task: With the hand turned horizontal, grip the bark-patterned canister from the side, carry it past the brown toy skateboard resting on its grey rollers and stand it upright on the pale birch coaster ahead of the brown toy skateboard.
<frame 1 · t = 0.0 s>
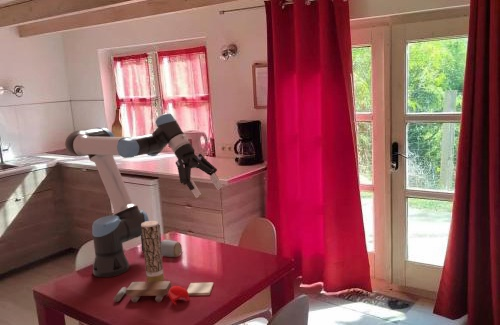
hand: (209, 192, 184), 36 cm above the table, tool tilted 35°, fingers open, 13 cm apart
coaster: (199, 290, 180), on the table
ceramic mug: (172, 255, 220), on the table
brown toy skateboard: (149, 297, 177), on the table
red rounded piece: (179, 302, 172), on the table
small box: (152, 248, 232), on the table
bark-patterned canister: (155, 283, 190), on the table
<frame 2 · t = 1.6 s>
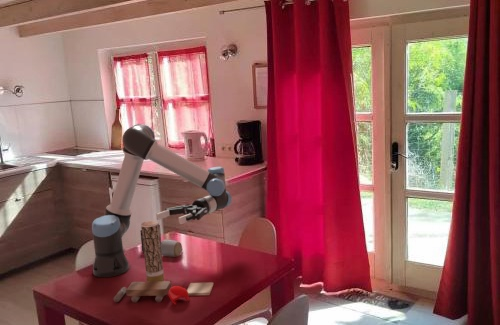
hand: (167, 218, 193), 24 cm above the table, tool horizontal, fingers open, 13 cm apart
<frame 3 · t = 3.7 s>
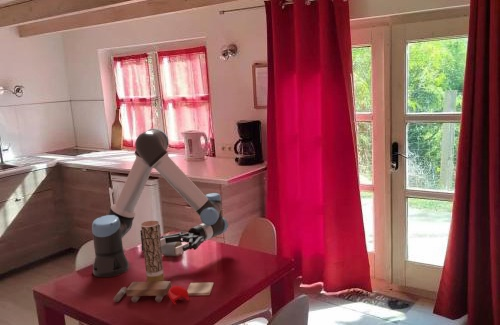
hand: (164, 248, 191), 13 cm above the table, tool horizontal, fingers open, 13 cm apart
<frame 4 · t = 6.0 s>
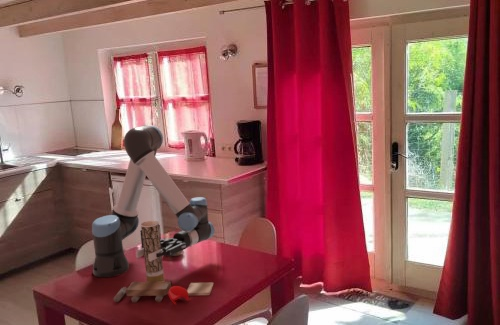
hand: (142, 256, 184), 13 cm above the table, tool horizontal, fingers closed on bark-patterned canister, 7 cm apart
bark-patterned canister: (155, 283, 190), on the table, touching gripper
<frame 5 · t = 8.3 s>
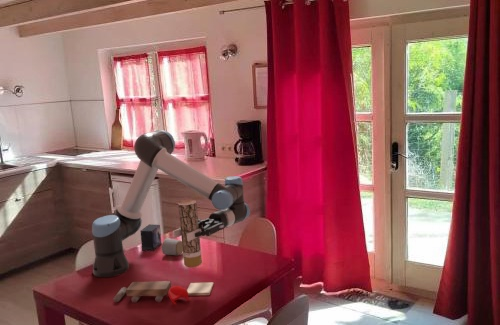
hand: (180, 236, 174), 23 cm above the table, tool horizontal, fingers closed on bark-patterned canister, 7 cm apart
bark-patterned canister: (193, 265, 180), point 10 cm above the table, touching gripper
when the fingers open (15 cm above the table, at t = 10.5 s): bark-patterned canister drops 1 cm, resting on coaster.
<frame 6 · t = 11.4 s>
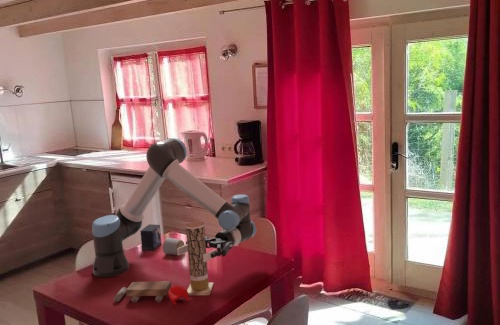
hand: (190, 255, 175), 15 cm above the table, tool horizontal, fingers open, 13 cm apart
bark-patterned canister: (199, 287, 180), point 1 cm above the table, touching coaster
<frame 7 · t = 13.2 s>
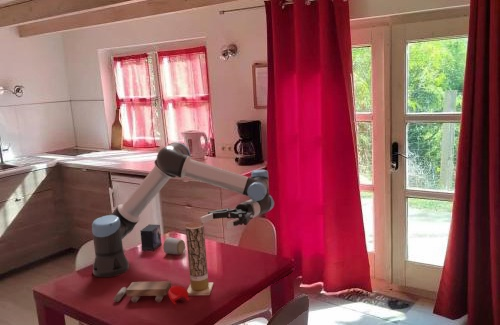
hand: (213, 223, 184), 24 cm above the table, tool horizontal, fingers open, 13 cm apart
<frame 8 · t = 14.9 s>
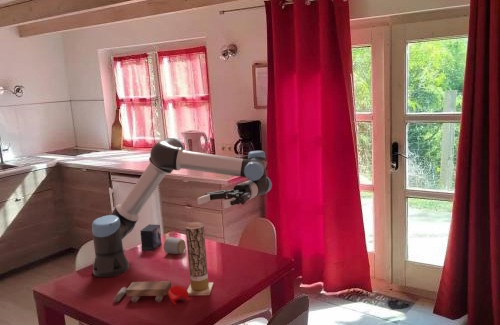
hand: (210, 203, 182), 32 cm above the table, tool horizontal, fingers open, 13 cm apart
at the end: bark-patterned canister inside the target area on the coaster (0.1 cm from its centre), point 0.8 cm above the coaster's base; bark-patterned canister tilted 0°; the gripper is holding nothing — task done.
